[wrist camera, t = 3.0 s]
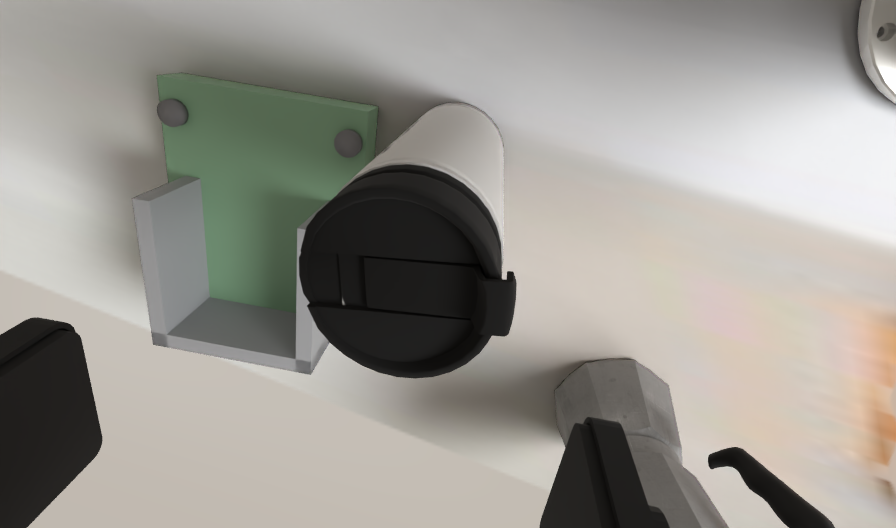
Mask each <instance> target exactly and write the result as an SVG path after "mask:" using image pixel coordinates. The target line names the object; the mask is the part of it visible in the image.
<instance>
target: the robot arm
mask: <svg viewBox="0 0 896 528" xmlns="http://www.w3.org/2000/svg"><path fill="white" fill-rule="evenodd" d="M878 30H879V33H878V34H877V32H878ZM858 41H859V50H860V56H861V59H862V62H863V64H864V67H865V70H866V73H867V75H868V76H869V78H870V79H871V80H872V82H873V83H874V85H875V86H876V88H877V89H878V90H879V91H880V92H881V93H882V94H884V95H885V96H886V97H887V98H888V99H890V100H891V101H892V102H893V103H895V104H896V0H862V2H861V6H860V12H859V22H858ZM101 445H102V434H101V429H100V424H99V420H98V415H97V411H96V406H95V401H94V396H93V392H92V387H91V382H90V378H89V373H88V369H87V364H86V359H85V354H84V350H83V345H82V341H81V337H80V335H78V334H77V333H76V332H75V330H74V327H72V326H71V325H70V324H68V323H65V322H59V321H54V320H49V319H42V318H30V319H28V320H25V321H23V322H22V323H20V324H18V325H17V326H15V327H13V328H11V329H10V330H8V331H6V332H5V333H3V334H1V335H0V528H27V527H28V526H29V525H30V524H31V523H32V522H33V521H34V520H35V518H37V517H38V515H40V513H41V512H42V511H43V510H44V509H45V508H46V507H47V506H48V505H49V504H50V503H51V502H52V501H53V500H54V499H55V498H56V497H57V496H58V495H59V494H60V493H61V492H62V491H63V490H64V489H65V488H66V487H67V486H68V485H69V484H70V483H71V481H73V480H74V479H75V478H76V476H77V475H78V474H79V473H80V472H81V471H82V470H83V469H84V468H85V467H86V466H87V465H88V464H89V463H90V462H91V461H92V460H93V459H94V458H95V456H96V455H97V454H98V452H99V450H100V448H101ZM540 528H670V527H669V524H668V522H667V519H666V517H665V515H664V513H663V512H662V511H661V510H660V509H659V508H658V507H655V506H650V505H648V502H647V499H646V496H645V493H644V490H643V487H642V484H641V481H640V478H639V475H638V472H637V469H636V466H635V463H634V460H633V457H632V454H631V451H630V448H629V445H628V442H627V439H626V436H625V433H624V430H623V427H622V425H621V424H620V423H619V422H615V421H610V420H604V419H599V418H593V417H587V418H586V419H585V421H584V423H583V424H580V423H575V424H574V426H573V428H572V431H571V434H570V437H569V440H568V443H567V445H566V448H565V451H564V454H563V457H562V460H561V463H560V466H559V469H558V472H557V474H556V477H555V480H554V483H553V486H552V489H551V492H550V495H549V498H548V501H547V504H546V506H545V509H544V512H543V515H542V518H541V522H540Z"/></svg>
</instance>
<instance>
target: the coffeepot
mask: <svg viewBox="0 0 896 528" xmlns="http://www.w3.org/2000/svg"><path fill="white" fill-rule="evenodd" d="M555 405H556V418H557V426H558V429H559V431H560V434H561V437H562V439H563V442H564V445H565V447H566V445H567V443H568V440H569V437H570V434H571V431H572V428H573V426H574V424H575V423H580V424H583V423H584V421H585V419H586V418H587V417H593V418H599V419H604V420H610V421H615V422H619V423H620V424H621V425H622V427H623V430H624V433H625V436H626V439H627V442H628V445H629V448H630V451H631V454H632V457H633V460H634V463H635V466H636V469H637V472H638V475H639V478H640V481H641V484H642V487H643V490H644V493H645V496H646V499H647V502H648V505H650V506H655V507H658V508H659V509H660V510H661V511H662V512H663V513H664V515H665V517H666V519H667V522H668V524H669V527H670V528H729V527H728V526H727V524H726V523H725V521H724V520H723V518H722V516H721V515H720V513H719V512H718V510H717V509H716V507H715V506H714V504H713V503H712V501H711V500H710V498H709V497H708V495H707V494H706V492H705V490H704V489H703V487H702V486H701V484H700V483H699V481H698V480H697V478H696V477H695V476H694V475H693V474H691V473H690V472H689V471H688V470H687V469H685V468H684V467H683V466H682V448H681V443H680V438H679V433H678V428H677V423H676V419H675V414H674V409H673V404H672V399H671V394H670V389H669V385H668V384H667V383H665V382H664V381H663V380H661V379H660V378H659V377H658V376H656V375H655V374H654V373H653V372H652V371H651V370H649V369H648V368H646V367H644V366H643V365H641V364H639V363H638V362H637V361H635V360H626V359H605V360H598V361H595V362H590V363H585V364H584V365H582V366H581V367H579V368H578V369H576V370H575V371H574V372H572V373H571V374H570V375H569V376H568V377H567V378H566V379H565V380H564V381H563V382H562V384H561V385H560V386H559V387H558V388H557V389H556V390H555ZM708 463H709V467H710V469H714V468H717V467H725V466H729V467H733V468H735V469H736V470H737V471H738V472H739V473H740V475H741V477H742V478H743V480H744V482H745V483H746V485H747V486H748V487H749V489H751V490H752V491H753V492H754V493H756V494H758V495H759V496H760V497H762V498H763V499H764V500H765V501H766V502H767V503H768V504H769V505H770V507H771V508H772V509H773V511H774V512H775V513H776V515H777V516H778V517H779V518H780V520H781V521H782V522H783V523H784V524H785V525H787V526H788V527H789V528H835V527H834V526H833V524H832V522H831V521H830V520H829V519H828V518H827V517H826V516H824V515H823V514H822V513H821V512H820V511H818V510H817V509H816V508H814V507H813V506H812V505H810V504H809V503H808V502H807V501H805V500H804V499H803V498H802V497H800V496H799V495H798V494H797V493H795V492H794V491H793V490H792V489H791V488H789V487H788V486H787V485H786V484H785V483H784V482H782V481H781V480H780V479H778V478H777V477H776V476H775V475H774V474H772V473H771V472H770V471H768V470H767V469H766V468H765V467H764V466H763V465H762V464H760V463H759V462H758V461H757V460H755V459H754V458H753V457H752V456H751V455H749V454H748V453H747V452H746V451H744V450H743V449H741V448H738V447H732V448H727V449H724V450H720V451H718V452H715V453H712V454H710V455H709V457H708Z"/></svg>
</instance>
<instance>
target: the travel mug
mask: <svg viewBox="0 0 896 528" xmlns="http://www.w3.org/2000/svg"><path fill="white" fill-rule="evenodd" d="M503 250H504V145H503V141H502V136H501V134H500V132H499V129H498V127H497V126H496V124H495V123H494V122H493V120H492V119H491V118H490V117H489V116H488V115H487V114H486V113H485V112H483V111H482V110H480V109H478V108H477V107H475V106H472V105H469V104H466V103H458V102H454V103H445V104H442V105H438V106H436V107H434V108H432V109H430V110H429V111H427V112H426V113H425V114H424V115H423V116H421V117H420V118H419V119H418V120H417V121H416V122H415V123H414V124H412V125H411V126H410V127H409V128H408V129H407V130H406V131H405V132H403V133H402V134H401V135H400V136H399V137H398V138H397V139H396V140H395V141H393V142H392V143H391V144H390V145H389V146H388V147H387V148H386V149H385V150H383V151H382V152H381V153H380V154H379V155H378V156H377V157H376V158H374V159H373V160H372V161H371V162H370V163H369V164H368V165H367V166H366V167H364V168H363V169H362V170H361V171H360V172H359V173H358V174H357V175H355V176H354V177H353V178H352V179H351V180H350V181H349V182H348V183H347V184H345V185H344V186H343V187H342V188H341V190H340V191H339V192H338V193H337V195H336V196H335V197H334V198H333V199H332V200H330V201H329V202H328V203H327V204H326V205H325V206H324V207H323V208H322V209H321V210H320V211H318V212H317V214H316V215H315V216H314V218H313V219H312V220H311V221H310V223H309V224H308V225H307V227H306V231H305V234H304V238H303V242H302V246H301V250H300V251H301V254H300V256H299V277H300V282H301V286H302V290H303V294H304V295H305V297H306V298H307V300H308V301H309V304H308V305H307V307H308V309H309V311H310V314H311V316H312V318H313V320H314V322H315V324H316V326H317V328H318V330H319V331H320V332H321V333H322V334H323V335H324V336H325V337H326V339H327V340H328V341H329V342H330V343H331V344H332V345H333V346H335V347H336V348H337V349H338V350H339V351H341V352H342V353H343V354H344V355H346V356H347V357H349V358H350V359H352V360H354V361H355V362H357V363H359V364H360V365H362V366H365V367H367V368H370V369H372V370H374V371H377V372H379V373H383V374H387V375H391V376H396V377H405V378H425V377H434V376H438V375H441V374H445V373H449V372H451V371H453V370H455V369H457V368H459V367H461V366H463V365H465V364H467V363H468V362H469V361H470V360H471V359H473V358H474V357H475V356H476V355H478V354H479V353H480V352H481V350H482V349H483V348H484V347H485V345H486V344H487V343H488V341H489V339H490V338H491V336H492V335H493V336H507V335H508V333H509V330H510V327H511V324H512V320H513V315H514V308H515V300H516V279H515V276H514V273H513V272H510V271H508V272H507V280H502V265H503V260H504V255H503Z"/></svg>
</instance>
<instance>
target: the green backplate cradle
mask: <svg viewBox="0 0 896 528" xmlns="http://www.w3.org/2000/svg"><path fill="white" fill-rule="evenodd" d="M157 82H158V92H159V101H160V103H159V104H158V107H157V113H158V116H159V118H160V120H161V121H162V128H163V138H164V147H165V156H166V165H167V175H168V183H167V184H165V185H163V186H160V187H158V188H155V189H153V190H151V191H148V192H146V193H144V194H141V195H139V196H136V197H134V198H132V202H133V209H134V216H135V223H136V229H137V236H138V243H139V250H140V257H141V264H142V271H143V278H144V285H145V292H146V299H147V305H148V312H149V319H150V326H151V333H152V340H153V345H158V346H163V347H168V348H173V349H179V350H184V351H189V352H195V353H200V354H205V355H210V356H215V357H221V358H226V359H231V360H236V361H242V362H247V363H252V364H257V365H262V366H268V367H273V368H278V369H283V370H289V371H294V372H299V373H304V374H310V375H311V373H312V372H313V370H314V368H315V366H316V365H317V363H318V361H319V360H320V358H321V356H322V354H323V353H324V351H325V349H326V348H327V346H328V344H329V341H328V340H327V339H326V337H325V336H324V335H323V334H322V333H321V332H320V331H319V330H318V328H317V326H316V324H315V322H314V320H313V318H312V316H311V314H310V311H309V309H308V307H307V305H308V304H309V301H308V300H307V298H306V297H305V295H304V294H303V290H302V286H301V282H300V277H299V256H300V254H301V251H300V250H301V246H302V242H303V238H304V234H305V231H306V227H307V225H308V224H309V223H310V221H311V220H312V219H313V218H314V216H315V215H316V214H317V212H318V211H320V210H321V209H322V208H323V207H324V206H325V205H326V204H327V203H328V202H329V201H330V200H332V199H333V198H334V197H335V196H336V195H337V193H338V192H339V191H340V190H341V188H342V187H343V186H344V185H345V184H347V183H348V182H349V181H350V180H351V179H352V178H353V177H354V176H355V175H357V174H358V173H359V172H360V171H361V170H362V169H363V168H364V167H366V166H367V165H368V164H369V163H370V162H371V161H372V160H373V159H374V156H375V143H376V131H377V119H378V107H379V106H373V105H367V104H361V103H355V102H349V101H344V100H338V99H332V98H326V97H320V96H314V95H308V94H303V93H297V92H291V91H285V90H279V89H273V88H268V87H262V86H256V85H250V84H244V83H238V82H232V81H227V80H221V79H215V78H209V77H203V76H197V75H192V74H186V73H175V74H165V75H157Z"/></svg>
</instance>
